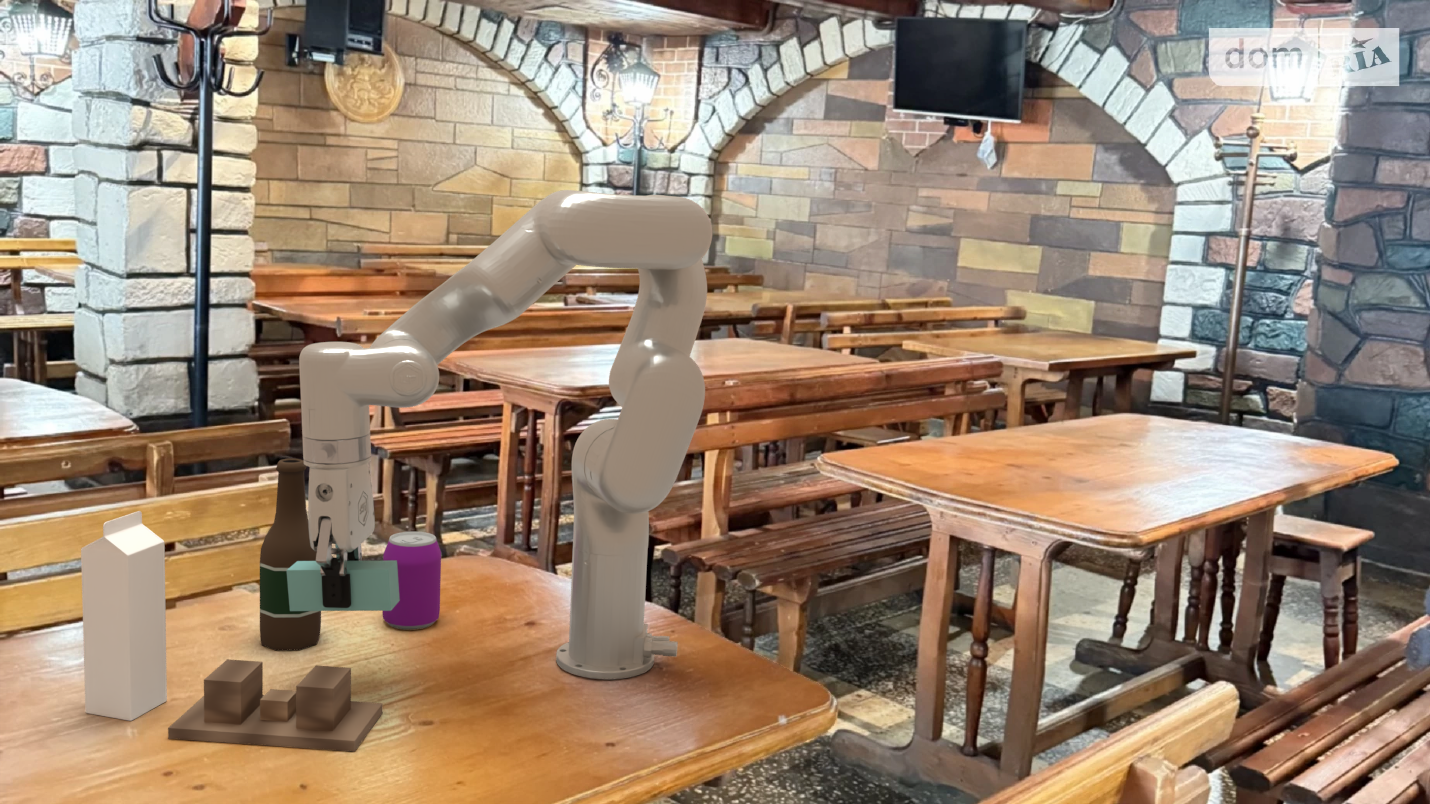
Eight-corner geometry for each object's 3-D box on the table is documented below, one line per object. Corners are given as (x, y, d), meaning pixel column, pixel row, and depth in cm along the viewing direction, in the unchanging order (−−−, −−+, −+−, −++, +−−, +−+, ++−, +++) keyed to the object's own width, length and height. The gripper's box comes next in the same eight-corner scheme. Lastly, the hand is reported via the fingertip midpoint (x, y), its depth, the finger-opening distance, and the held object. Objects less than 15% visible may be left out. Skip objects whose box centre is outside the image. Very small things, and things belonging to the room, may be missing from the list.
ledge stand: (382, 713, 143) (383, 663, 142) (354, 751, 133) (355, 697, 132) (208, 701, 143) (208, 651, 142) (168, 738, 133) (167, 685, 132)
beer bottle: (302, 655, 158) (303, 469, 155) (246, 647, 160) (246, 463, 156) (333, 635, 166) (334, 457, 162) (279, 627, 167) (279, 451, 164)
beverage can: (414, 609, 178) (415, 526, 176) (451, 622, 173) (453, 538, 171) (370, 621, 172) (371, 537, 170) (407, 635, 167) (409, 548, 165)
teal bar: (399, 600, 150) (396, 560, 149) (391, 610, 147) (388, 569, 146) (300, 601, 151) (297, 561, 150) (289, 611, 147) (286, 570, 146)
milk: (84, 713, 138) (77, 520, 135) (123, 693, 144) (117, 507, 141) (132, 721, 137) (126, 526, 133) (169, 700, 143) (164, 512, 139)
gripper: (346, 466, 137) (352, 626, 140) (390, 435, 153) (394, 579, 157) (278, 465, 137) (285, 624, 141) (329, 434, 154) (335, 577, 157)
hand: (343, 599), depth 149 cm, fingers closed on teal bar, 3 cm apart
